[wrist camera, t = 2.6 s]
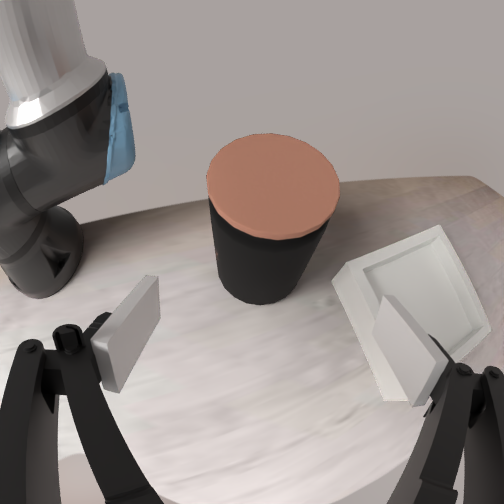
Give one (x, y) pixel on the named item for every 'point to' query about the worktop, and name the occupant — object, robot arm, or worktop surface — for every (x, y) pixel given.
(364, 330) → the white square tray
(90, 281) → the worktop surface
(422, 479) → the robot arm
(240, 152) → the coffee jar
